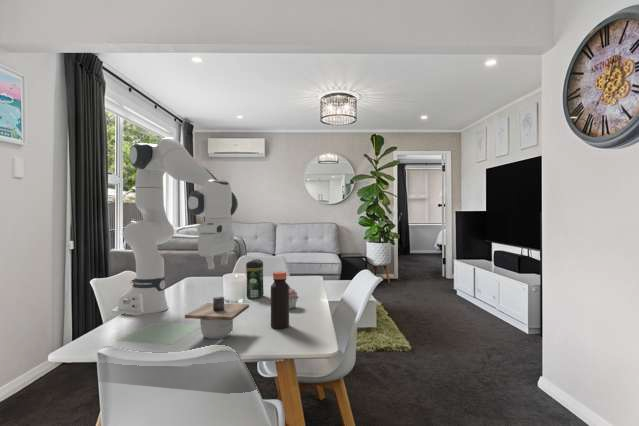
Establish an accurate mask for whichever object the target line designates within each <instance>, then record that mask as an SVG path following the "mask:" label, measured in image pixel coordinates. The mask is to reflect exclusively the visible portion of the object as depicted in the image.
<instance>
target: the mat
mask: <svg viewBox="0 0 639 426" xmlns="http://www.w3.org/2000/svg"><path fill="white" fill-rule="evenodd" d="M198 329H201V324H194V323H193V324H190V323H174V322H156V321H154V322H152V323H150V324H148V325H146V326H144V327H142V328H140V329H138V330H136V331H133V332H131V333H129V334H128V335H125V336H123V337H122V338H119V339H117V340H116V342H129V343H131V342H132V343H144V344H145V343H146V344H156V345H159V344H160V345H175V343H177V342H178V341H180V340H182V339H183V338H185V337H186V336H189V335H190V334H192V333H193V332H195V331H197V330H198Z"/></svg>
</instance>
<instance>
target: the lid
mask: <svg viewBox="0 0 639 426" xmlns="http://www.w3.org/2000/svg"><path fill="white" fill-rule="evenodd" d="M212 301H213V302H207V303H204V304H203V305H201V306H199V307H198V308H195V309H194V310H192V311H190V312H188V313H186V314H184V319H199V320H200V319H215V320H233V321H234V319H235V318H237V317H238V316H239V315H241V314H242V313H243V312H245V311H246V310H247V309H249V308H250V304H247V303H246V304H245V303H244V304H243V303H225V297H224V296H215V297H213V299H212Z"/></svg>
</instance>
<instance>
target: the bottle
mask: <svg viewBox="0 0 639 426" xmlns="http://www.w3.org/2000/svg"><path fill="white" fill-rule="evenodd" d="M272 276H273V277H272V280H273V283H272V284H271V285H270V328H272V329H274V330H284V329H287V328H289V326H290V309H289V286H290V284H288V283H287V282H286V280H287V272H286V271H282V270H281V271H274V272H272Z"/></svg>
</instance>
